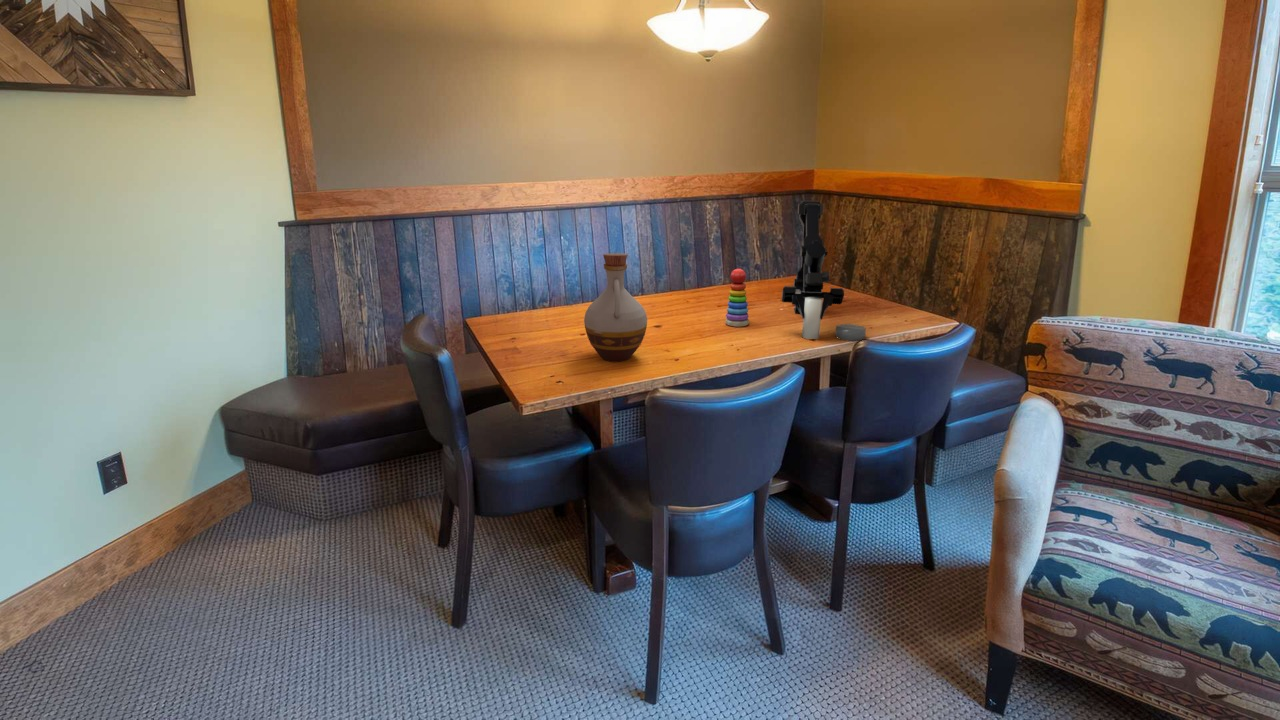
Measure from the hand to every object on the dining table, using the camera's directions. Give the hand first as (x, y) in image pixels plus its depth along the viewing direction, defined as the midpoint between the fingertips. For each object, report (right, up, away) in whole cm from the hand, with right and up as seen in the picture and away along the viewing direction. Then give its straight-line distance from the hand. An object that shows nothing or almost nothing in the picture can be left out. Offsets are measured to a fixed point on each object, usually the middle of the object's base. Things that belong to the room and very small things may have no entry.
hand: (812, 318), depth 225 cm
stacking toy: (-21, -1, +18) cm, 28 cm away
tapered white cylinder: (0, -6, +3) cm, 7 cm away
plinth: (+13, -6, +4) cm, 15 cm away
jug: (-60, -13, -18) cm, 64 cm away
